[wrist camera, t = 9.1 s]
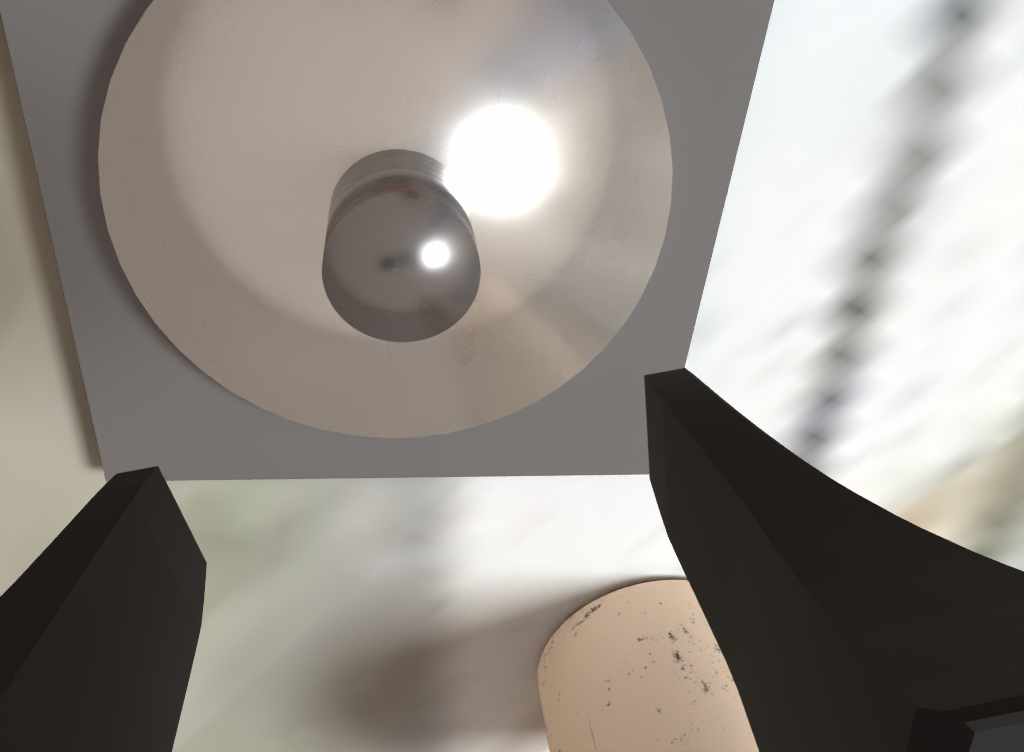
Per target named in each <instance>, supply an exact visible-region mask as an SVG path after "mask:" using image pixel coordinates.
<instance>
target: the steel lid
mask: <svg viewBox="0 0 1024 752" xmlns="http://www.w3.org/2000/svg"><path fill="white" fill-rule="evenodd" d="M98 167H99V182H100V195H101V200H102V205H103V209H104V214H105V219H106V224H107V228H108V232H109V235H110V238H111V240H112V243H113V246H114V249H115V251H116V254H117V257H118V260H119V263H120V265H121V267H122V269H123V271H124V273H125V275H126V277H127V279H128V280H129V282H130V284H131V286H132V288H133V290H134V292H135V294H136V296H137V297H138V299H139V300H140V302H141V303H142V305H143V306H144V308H145V309H146V310H147V312H148V313H149V315H150V316H151V318H152V319H153V321H154V322H155V323H156V325H157V326H158V327H159V328H160V329H161V330H162V332H163V333H164V334H165V335H166V336H167V337H168V338H169V339H170V341H171V342H172V343H173V344H174V345H175V346H176V347H177V348H178V350H179V351H180V352H182V353H183V354H184V355H185V356H186V357H187V358H188V359H189V360H191V361H192V362H193V363H194V364H195V365H196V366H197V367H198V368H200V369H201V370H202V371H203V372H204V373H205V374H207V375H208V376H210V377H211V378H212V379H214V380H215V381H217V382H218V383H220V384H221V385H222V386H224V387H225V388H227V389H228V390H230V391H231V392H232V393H234V394H236V395H238V396H240V397H242V398H243V399H245V400H247V401H249V402H251V403H253V404H254V405H256V406H258V407H260V408H262V409H264V410H267V411H269V412H271V413H274V414H276V415H279V416H281V417H284V418H286V419H288V420H291V421H294V422H297V423H301V424H304V425H307V426H311V427H314V428H318V429H321V430H326V431H331V432H336V433H342V434H347V435H353V436H364V437H377V438H414V437H424V436H431V435H439V434H447V433H451V432H456V431H460V430H464V429H468V428H473V427H477V426H480V425H483V424H485V423H488V422H491V421H494V420H497V419H500V418H503V417H506V416H508V415H510V414H512V413H514V412H516V411H518V410H520V409H523V408H525V407H527V406H529V405H531V404H533V403H535V402H536V401H538V400H540V399H541V398H543V397H545V396H546V395H548V394H549V393H551V392H553V391H554V390H556V389H558V388H559V387H561V386H562V385H563V384H564V383H566V382H567V381H568V380H570V379H571V378H572V377H573V376H575V375H576V374H577V373H579V372H580V371H581V370H582V369H584V368H585V367H586V366H587V365H588V364H589V363H590V362H591V361H592V360H593V359H594V358H595V357H596V356H597V355H598V354H599V353H600V352H601V351H602V350H603V349H604V348H605V347H606V346H607V345H608V343H609V342H610V341H611V340H612V338H613V337H614V336H615V335H616V333H617V332H618V331H619V330H620V328H621V327H622V326H623V325H624V324H625V322H626V321H627V319H628V317H629V316H630V314H631V313H632V311H633V309H634V308H635V306H636V305H637V303H638V301H639V300H640V298H641V297H642V294H643V292H644V290H645V288H646V286H647V284H648V282H649V279H650V277H651V275H652V273H653V271H654V269H655V266H656V263H657V260H658V257H659V254H660V251H661V248H662V244H663V241H664V238H665V234H666V228H667V223H668V218H669V212H670V207H671V193H672V173H673V168H672V156H671V145H670V134H669V130H668V125H667V121H666V117H665V112H664V108H663V103H662V99H661V97H660V94H659V91H658V89H657V86H656V83H655V81H654V78H653V75H652V73H651V70H650V67H649V65H648V63H647V61H646V59H645V57H644V56H643V54H642V52H641V50H640V48H639V46H638V45H637V43H636V41H635V39H634V37H633V35H632V34H631V32H630V30H629V29H628V28H627V26H626V25H625V23H624V22H623V21H622V19H621V18H620V17H619V15H618V14H617V13H616V11H615V10H614V9H613V7H612V6H611V5H610V3H609V2H608V1H607V0H154V1H153V2H152V3H151V4H150V5H149V7H148V8H147V9H146V11H145V12H144V14H143V16H142V17H141V19H140V21H139V22H138V24H137V25H136V27H135V29H134V30H133V32H132V34H131V35H130V37H129V38H128V40H127V42H126V43H125V46H124V48H123V51H122V53H121V56H120V58H119V60H118V63H117V65H116V68H115V70H114V72H113V75H112V77H111V80H110V83H109V88H108V92H107V96H106V100H105V104H104V108H103V112H102V117H101V125H100V137H99V149H98Z"/></svg>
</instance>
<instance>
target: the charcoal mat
mask: <svg viewBox="0 0 1024 752" xmlns="http://www.w3.org/2000/svg"><path fill="white" fill-rule="evenodd" d="M153 1H154V0H0V13H1V17H2V21H3V26H4V30H5V35H6V39H7V44H8V48H9V53H10V57H11V61H12V66H13V70H14V75H15V79H16V84H17V88H18V93H19V97H20V101H21V106H22V110H23V115H24V119H25V124H26V128H27V132H28V137H29V141H30V146H31V150H32V155H33V159H34V164H35V168H36V172H37V177H38V181H39V186H40V190H41V195H42V199H43V204H44V208H45V212H46V217H47V221H48V226H49V230H50V235H51V239H52V243H53V248H54V252H55V257H56V261H57V266H58V270H59V275H60V279H61V283H62V288H63V292H64V297H65V301H66V306H67V310H68V315H69V319H70V323H71V328H72V332H73V337H74V341H75V346H76V350H77V354H78V359H79V363H80V368H81V372H82V377H83V381H84V386H85V390H86V394H87V399H88V403H89V408H90V412H91V417H92V421H93V426H94V430H95V434H96V439H97V443H98V448H99V452H100V457H101V461H102V465H103V470H104V474H105V479H106V481H109V480H110V479H111V478H113V477H114V476H115V475H116V474H117V473H122V472H128V471H133V470H139V469H144V468H149V467H155V466H158V467H159V469H160V471H161V473H162V475H163V477H164V479H165V481H174V480H250V479H327V478H403V477H479V476H556V475H632V474H649V456H648V438H647V419H646V401H645V383H644V375H649V374H654V373H659V372H665V371H670V370H675V369H681V368H684V367H685V363H686V359H687V355H688V351H689V347H690V343H691V338H692V334H693V330H694V326H695V322H696V318H697V314H698V310H699V306H700V302H701V298H702V293H703V289H704V285H705V281H706V277H707V273H708V269H709V265H710V261H711V257H712V253H713V248H714V244H715V240H716V236H717V232H718V228H719V224H720V220H721V216H722V212H723V208H724V203H725V199H726V195H727V191H728V187H729V183H730V179H731V175H732V171H733V167H734V163H735V158H736V154H737V150H738V146H739V142H740V138H741V134H742V130H743V126H744V122H745V118H746V113H747V109H748V105H749V101H750V97H751V93H752V89H753V85H754V81H755V77H756V73H757V68H758V64H759V60H760V56H761V52H762V48H763V44H764V40H765V36H766V32H767V27H768V23H769V19H770V15H771V11H772V7H773V3H774V0H607V1H608V2H609V3H610V5H611V6H612V7H613V9H614V10H615V11H616V13H617V14H618V15H619V17H620V18H621V19H622V21H623V22H624V23H625V25H626V26H627V28H628V29H629V30H630V32H631V34H632V35H633V37H634V39H635V41H636V43H637V45H638V46H639V48H640V50H641V52H642V54H643V56H644V57H645V59H646V61H647V63H648V65H649V67H650V70H651V73H652V75H653V78H654V81H655V83H656V86H657V89H658V91H659V94H660V97H661V99H662V103H663V108H664V112H665V117H666V121H667V125H668V130H669V134H670V145H671V156H672V168H673V173H672V193H671V207H670V212H669V218H668V223H667V228H666V234H665V238H664V241H663V244H662V248H661V251H660V254H659V257H658V260H657V263H656V266H655V269H654V271H653V273H652V275H651V277H650V279H649V282H648V284H647V286H646V288H645V290H644V292H643V294H642V297H641V298H640V300H639V301H638V303H637V305H636V306H635V308H634V309H633V311H632V313H631V314H630V316H629V317H628V319H627V321H626V322H625V324H624V325H623V326H622V327H621V328H620V330H619V331H618V332H617V333H616V335H615V336H614V337H613V338H612V340H611V341H610V342H609V343H608V345H607V346H606V347H605V348H604V349H603V350H602V351H601V352H600V353H599V354H598V355H597V356H596V357H595V358H594V359H593V360H592V361H591V362H590V363H589V364H588V365H587V366H586V367H585V368H584V369H582V370H581V371H580V372H579V373H577V374H576V375H575V376H573V377H572V378H571V379H570V380H568V381H567V382H566V383H564V384H563V385H562V386H561V387H559V388H558V389H556V390H554V391H553V392H551V393H549V394H548V395H546V396H545V397H543V398H541V399H540V400H538V401H536V402H535V403H533V404H531V405H529V406H527V407H525V408H523V409H520V410H518V411H516V412H514V413H512V414H510V415H508V416H506V417H503V418H500V419H497V420H494V421H491V422H488V423H485V424H483V425H480V426H477V427H473V428H468V429H464V430H460V431H456V432H451V433H447V434H439V435H431V436H424V437H414V438H377V437H364V436H353V435H347V434H342V433H336V432H331V431H326V430H321V429H318V428H314V427H311V426H307V425H304V424H301V423H297V422H294V421H291V420H288V419H286V418H284V417H281V416H279V415H276V414H274V413H271V412H269V411H267V410H264V409H262V408H260V407H258V406H256V405H254V404H253V403H251V402H249V401H247V400H245V399H243V398H242V397H240V396H238V395H236V394H234V393H232V392H231V391H230V390H228V389H227V388H225V387H224V386H222V385H221V384H220V383H218V382H217V381H215V380H214V379H212V378H211V377H210V376H208V375H207V374H205V373H204V372H203V371H202V370H201V369H200V368H198V367H197V366H196V365H195V364H194V363H193V362H192V361H191V360H189V359H188V358H187V357H186V356H185V355H184V354H183V353H182V352H180V351H179V350H178V348H177V347H176V346H175V345H174V344H173V343H172V342H171V341H170V339H169V338H168V337H167V336H166V335H165V334H164V333H163V332H162V330H161V329H160V328H159V327H158V326H157V325H156V323H155V322H154V321H153V319H152V318H151V316H150V315H149V313H148V312H147V310H146V309H145V308H144V306H143V305H142V303H141V302H140V300H139V299H138V297H137V296H136V294H135V292H134V290H133V288H132V286H131V284H130V282H129V280H128V279H127V277H126V275H125V273H124V271H123V269H122V267H121V265H120V263H119V260H118V257H117V254H116V251H115V249H114V246H113V243H112V240H111V238H110V235H109V232H108V228H107V224H106V219H105V214H104V209H103V205H102V200H101V195H100V182H99V167H98V149H99V137H100V125H101V117H102V112H103V108H104V104H105V100H106V96H107V92H108V88H109V83H110V80H111V77H112V75H113V72H114V70H115V68H116V65H117V63H118V60H119V58H120V56H121V53H122V51H123V48H124V46H125V43H126V42H127V40H128V38H129V37H130V35H131V34H132V32H133V30H134V29H135V27H136V25H137V24H138V22H139V21H140V19H141V17H142V16H143V14H144V12H145V11H146V9H147V8H148V7H149V5H150V4H151V3H152V2H153Z"/></svg>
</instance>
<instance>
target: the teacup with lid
mask: <svg viewBox="0 0 1024 752" xmlns="http://www.w3.org/2000/svg"><path fill="white" fill-rule="evenodd" d="M537 676H538V688H539V693H540V699H541V705H542V710H543V716H544V721H545V727H546V732H547V738H548V743H549V749H550V752H759V750H758V747H757V744H756V741H755V738H754V735H753V733H752V730H751V727H750V724H749V721H748V718H747V715H746V712H745V710H744V707H743V704H742V701H741V698H740V695H739V692H738V690H737V687H736V685H735V682H734V680H733V678H732V675H731V673H730V670H729V668H728V665H727V663H726V661H725V658H724V656H723V654H722V652H721V650H720V648H719V646H718V643H717V641H716V639H715V637H714V635H713V633H712V631H711V628H710V626H709V624H708V622H707V620H706V618H705V616H704V613H703V611H702V609H701V607H700V605H699V603H698V601H697V598H696V596H695V594H694V592H693V590H692V588H691V586H690V583H689V581H688V580H659V581H652V582H646V583H641V584H636V585H632V586H629V587H625V588H622V589H619V590H616V591H614V592H611V593H609V594H606V595H604V596H602V597H600V598H598V599H596V600H594V601H592V602H591V603H589V604H587V605H586V606H584V607H583V608H581V609H580V610H578V611H577V612H575V613H574V614H573V615H572V616H570V617H569V618H568V619H567V620H566V621H565V622H564V623H563V624H562V625H561V626H560V627H559V628H558V629H557V630H556V632H555V633H554V634H553V636H552V637H551V638H550V640H549V641H548V643H547V645H546V646H545V648H544V650H543V653H542V655H541V658H540V662H539V666H538V673H537Z"/></svg>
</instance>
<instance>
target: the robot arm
mask: <svg viewBox="0 0 1024 752" xmlns="http://www.w3.org/2000/svg"><path fill="white" fill-rule="evenodd" d="M644 383H645V401H646V419H647V438H648V456H649V474H650V481H651V485H652V488H653V491H654V494H655V497H656V501H657V504H658V507H659V510H660V513H661V516H662V519H663V522H664V525H665V529H666V532H667V535H668V537H669V540H670V542H671V544H672V546H673V548H674V551H675V553H676V555H677V557H678V559H679V562H680V564H681V566H682V568H683V570H684V573H685V575H686V577H687V579H688V581H689V583H690V586H691V588H692V590H693V592H694V594H695V596H696V598H697V601H698V603H699V605H700V607H701V609H702V611H703V613H704V616H705V618H706V620H707V622H708V624H709V626H710V628H711V631H712V633H713V635H714V637H715V639H716V641H717V643H718V646H719V648H720V650H721V652H722V654H723V656H724V658H725V661H726V663H727V665H728V668H729V670H730V673H731V675H732V678H733V680H734V682H735V685H736V687H737V690H738V692H739V695H740V698H741V701H742V704H743V707H744V710H745V712H746V715H747V718H748V721H749V724H750V727H751V730H752V733H753V735H754V738H755V741H756V744H757V747H758V750H759V752H1024V571H1021V570H1018V569H1016V568H1013V567H1010V566H1007V565H1005V564H1002V563H1000V562H998V561H995V560H993V559H990V558H988V557H985V556H983V555H980V554H978V553H975V552H973V551H971V550H968V549H966V548H964V547H962V546H960V545H957V544H955V543H953V542H951V541H949V540H946V539H944V538H942V537H940V536H938V535H935V534H933V533H931V532H929V531H927V530H924V529H922V528H920V527H918V526H916V525H914V524H912V523H910V522H908V521H906V520H904V519H902V518H900V517H898V516H896V515H894V514H893V513H891V512H889V511H887V510H885V509H883V508H882V507H880V506H878V505H876V504H874V503H872V502H871V501H869V500H867V499H865V498H863V497H862V496H860V495H858V494H856V493H854V492H853V491H851V490H849V489H848V488H846V487H844V486H843V485H841V484H839V483H838V482H836V481H834V480H833V479H831V478H830V477H828V476H826V475H825V474H823V473H822V472H820V471H819V470H817V469H816V468H814V467H813V466H811V465H810V464H808V463H807V462H805V461H804V460H802V459H801V458H799V457H798V456H797V455H795V454H794V453H792V452H791V451H789V450H788V449H787V448H785V447H784V446H783V445H781V444H780V443H779V442H777V441H776V440H775V439H773V438H772V437H771V436H769V435H768V434H767V433H765V432H764V431H763V430H761V429H760V428H758V427H757V426H756V425H755V424H753V423H752V422H751V421H749V420H748V419H747V418H746V417H744V416H743V415H742V414H741V413H739V412H738V411H737V410H736V409H734V408H733V407H732V406H731V405H730V404H728V403H727V402H726V401H725V400H723V399H722V398H721V397H720V396H719V395H717V394H716V393H715V392H714V391H713V390H711V389H710V388H709V387H708V386H707V385H705V384H704V383H703V382H702V381H701V380H700V379H698V378H697V377H696V376H695V375H694V374H692V373H691V372H690V371H688V370H687V369H686V368H681V369H675V370H670V371H665V372H659V373H654V374H649V375H644ZM206 565H207V563H206V561H205V559H204V557H203V555H202V553H201V551H200V549H199V547H198V545H197V543H196V541H195V539H194V537H193V535H192V533H191V531H190V529H189V527H188V525H187V523H186V521H185V519H184V517H183V515H182V513H181V511H180V509H179V507H178V505H177V503H176V501H175V499H174V497H173V495H172V493H171V491H170V489H169V487H168V485H167V483H166V481H165V479H164V477H163V475H162V473H161V471H160V469H159V467H158V466H155V467H149V468H144V469H139V470H133V471H128V472H122V473H117V474H116V475H115V476H114V477H113V478H111V479H110V480H109V481H108V482H107V483H106V484H105V485H104V486H103V487H102V488H101V489H100V490H99V492H98V493H97V494H96V495H95V496H94V497H93V498H92V499H91V500H90V501H89V502H88V503H87V504H86V505H85V507H84V508H83V509H82V510H81V511H80V512H79V513H78V514H77V515H76V516H75V518H74V519H73V520H72V521H71V522H70V523H69V524H68V525H67V526H66V527H65V528H64V530H63V531H62V532H61V533H60V534H59V535H58V536H57V537H56V538H55V539H54V541H53V542H52V543H51V544H50V545H49V546H48V547H47V548H46V549H45V550H44V551H43V552H42V553H41V555H40V556H39V557H38V558H37V559H36V560H35V561H34V562H33V563H32V564H31V565H30V566H29V568H28V569H27V570H26V571H25V572H24V573H23V574H22V575H21V576H20V577H19V578H18V579H17V580H16V581H15V582H14V584H13V585H12V586H11V587H10V588H9V589H8V590H7V591H6V592H5V593H4V594H3V595H2V596H1V597H0V752H172V748H173V744H174V740H175V736H176V732H177V727H178V723H179V719H180V715H181V711H182V707H183V702H184V698H185V694H186V690H187V686H188V682H189V678H190V673H191V669H192V664H193V660H194V656H195V651H196V647H197V643H198V638H199V634H200V629H201V622H202V613H203V603H204V592H205V579H206Z"/></svg>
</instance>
